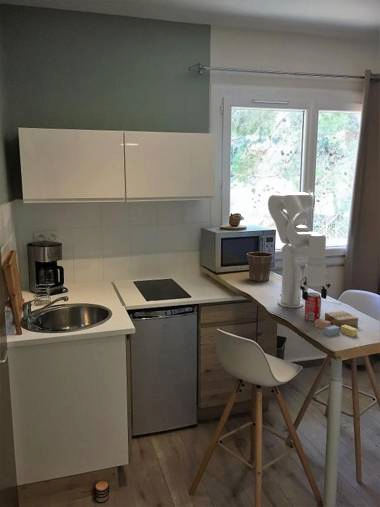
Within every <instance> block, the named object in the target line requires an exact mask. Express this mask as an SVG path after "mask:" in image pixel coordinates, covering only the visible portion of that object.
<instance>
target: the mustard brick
mask: <svg viewBox="0 0 380 507" xmlns="http://www.w3.org/2000/svg"><path fill="white" fill-rule="evenodd" d="M339 333H342V334H345V335H346V336H350V337H357V335H358V328H357V327H351V326H348V325H342V326H341V329H340V332H339Z"/></svg>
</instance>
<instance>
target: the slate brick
mask: <svg viewBox="0 0 380 507" xmlns="http://www.w3.org/2000/svg"><path fill="white" fill-rule="evenodd" d="M340 331H341V329H340V327H338V326H335V325H333V326H332V325H331V326H328V327H324V329H323V334H324V335H325V336H328V337H332V336H336V335H340V333H341V332H340Z"/></svg>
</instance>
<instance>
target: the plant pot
mask: <svg viewBox="0 0 380 507" xmlns="http://www.w3.org/2000/svg"><path fill="white" fill-rule="evenodd" d="M246 257H247V261H248V276H249V277H248V278H249V280H250V281H255V282H260V283H261V282H267V281H269V280H270V274H271V266H272V261H273V257H274V253H271V252H267V251H250V252H247V253H246Z"/></svg>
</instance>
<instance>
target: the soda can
mask: <svg viewBox="0 0 380 507" xmlns="http://www.w3.org/2000/svg"><path fill="white" fill-rule="evenodd" d="M321 309H322V297H321V293H318V292H308V299H307V300H304V314H303V315H304V318H305V320H306V321H309V322H315V320H316V319H321V311H322V310H321Z"/></svg>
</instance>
